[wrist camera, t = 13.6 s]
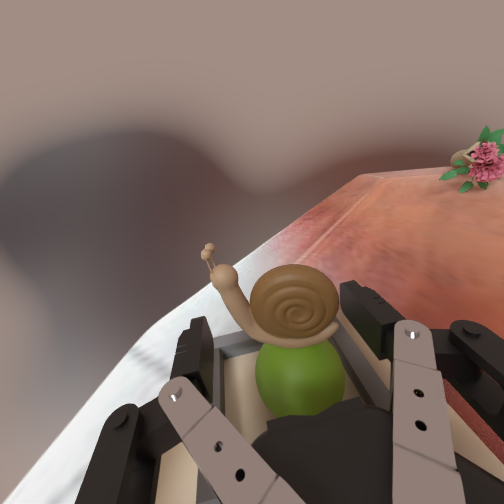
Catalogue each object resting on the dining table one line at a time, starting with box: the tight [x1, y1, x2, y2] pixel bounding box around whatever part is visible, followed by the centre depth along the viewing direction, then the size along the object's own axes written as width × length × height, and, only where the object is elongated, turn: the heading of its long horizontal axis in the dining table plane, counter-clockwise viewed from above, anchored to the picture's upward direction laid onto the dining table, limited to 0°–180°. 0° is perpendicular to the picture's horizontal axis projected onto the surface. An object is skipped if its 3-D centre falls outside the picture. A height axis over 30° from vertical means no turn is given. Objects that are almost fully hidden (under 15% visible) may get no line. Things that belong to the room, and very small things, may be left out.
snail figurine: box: [201, 243, 345, 418], centre depth 13 cm, size 5×6×12 cm
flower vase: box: [439, 126, 504, 193], centre depth 50 cm, size 12×12×35 cm
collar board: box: [155, 309, 504, 504], centre depth 16 cm, size 18×14×3 cm
